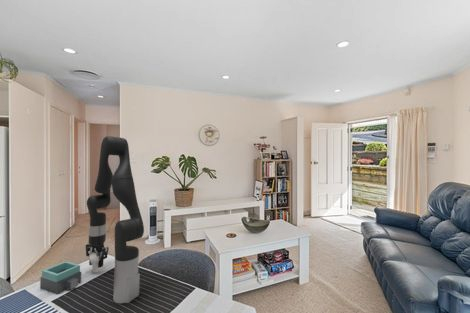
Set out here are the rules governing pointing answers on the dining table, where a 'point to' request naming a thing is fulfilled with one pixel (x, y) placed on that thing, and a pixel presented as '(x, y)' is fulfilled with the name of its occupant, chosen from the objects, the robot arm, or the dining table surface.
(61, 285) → the teal and grey box
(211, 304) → the dining table surface
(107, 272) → the dining table surface
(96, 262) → the lightbulb
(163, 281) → the dining table surface
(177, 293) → the dining table surface
